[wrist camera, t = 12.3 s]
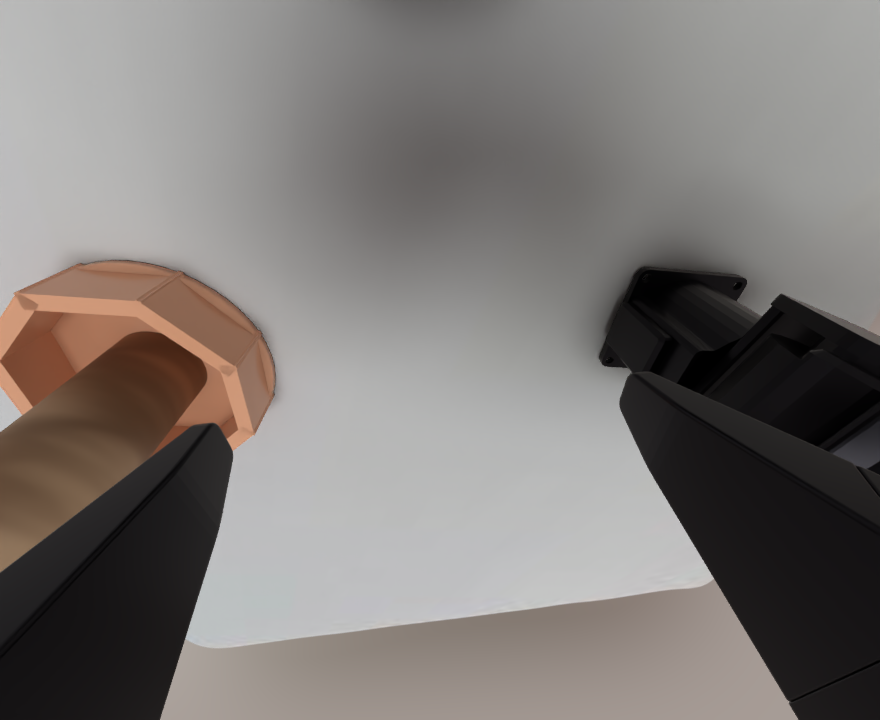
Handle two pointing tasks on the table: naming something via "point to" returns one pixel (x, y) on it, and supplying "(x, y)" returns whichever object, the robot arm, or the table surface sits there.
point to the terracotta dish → (127, 311)
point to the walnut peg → (90, 435)
